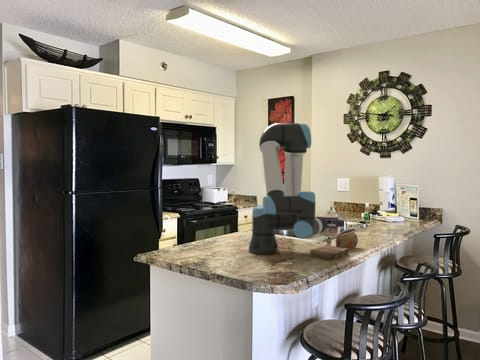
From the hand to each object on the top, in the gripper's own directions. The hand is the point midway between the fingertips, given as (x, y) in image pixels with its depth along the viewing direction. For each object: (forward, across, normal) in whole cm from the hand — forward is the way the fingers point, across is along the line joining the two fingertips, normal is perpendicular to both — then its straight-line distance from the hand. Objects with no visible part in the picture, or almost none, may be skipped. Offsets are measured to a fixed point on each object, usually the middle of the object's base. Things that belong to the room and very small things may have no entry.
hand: (333, 220), depth 191 cm
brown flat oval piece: (+15, +2, -17) cm, 23 cm away
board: (-4, 0, -17) cm, 17 cm away
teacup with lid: (-5, 0, -7) cm, 8 cm away
